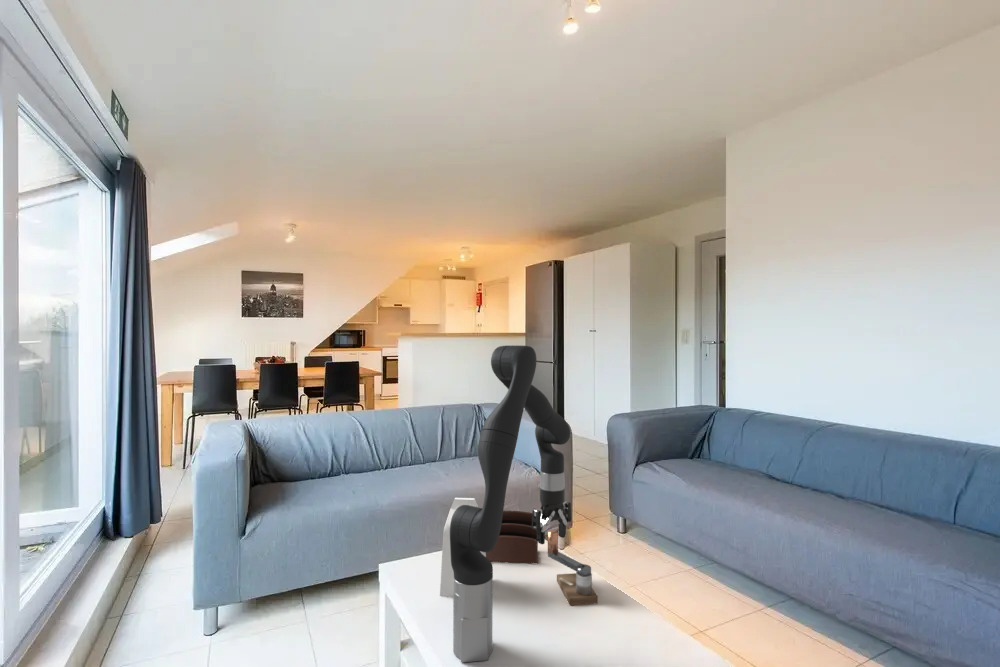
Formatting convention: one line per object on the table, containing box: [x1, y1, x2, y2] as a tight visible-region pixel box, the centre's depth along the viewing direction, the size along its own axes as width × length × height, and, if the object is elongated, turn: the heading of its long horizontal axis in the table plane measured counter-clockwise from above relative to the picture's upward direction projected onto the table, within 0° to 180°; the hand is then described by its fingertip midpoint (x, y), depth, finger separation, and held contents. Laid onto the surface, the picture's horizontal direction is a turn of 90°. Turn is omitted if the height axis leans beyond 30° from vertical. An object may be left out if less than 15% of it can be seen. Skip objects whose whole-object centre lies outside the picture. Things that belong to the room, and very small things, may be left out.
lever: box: [547, 529, 592, 576], centre depth 147 cm, size 17×4×8 cm, turn 36°
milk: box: [439, 497, 486, 598], centre depth 148 cm, size 12×12×26 cm
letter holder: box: [486, 510, 539, 564], centre depth 169 cm, size 10×20×14 cm, turn 86°
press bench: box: [556, 571, 599, 606], centre depth 146 cm, size 14×8×7 cm, turn 8°
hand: (551, 540), depth 152 cm, fingers open, 8 cm apart
